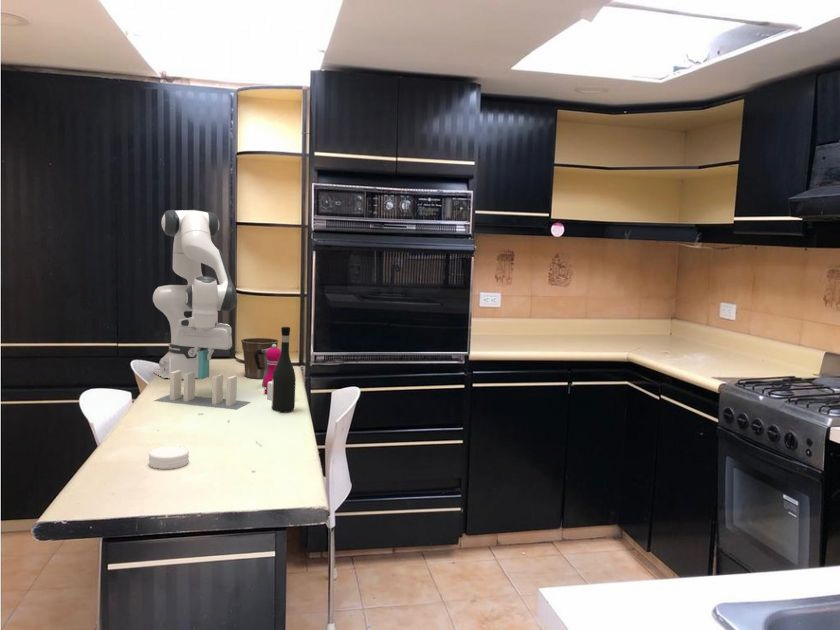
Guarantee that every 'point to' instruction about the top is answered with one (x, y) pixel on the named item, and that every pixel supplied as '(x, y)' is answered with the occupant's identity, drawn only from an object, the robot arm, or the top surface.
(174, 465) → the coaster
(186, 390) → the ivory domino
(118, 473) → the top surface
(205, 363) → the teal domino
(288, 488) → the top surface
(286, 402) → the wine bottle
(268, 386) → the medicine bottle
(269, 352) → the pepper mill
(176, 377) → the ivory domino
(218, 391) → the ivory domino
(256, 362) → the coffeepot
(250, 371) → the plant pot
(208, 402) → the slate mat
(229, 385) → the ivory domino
